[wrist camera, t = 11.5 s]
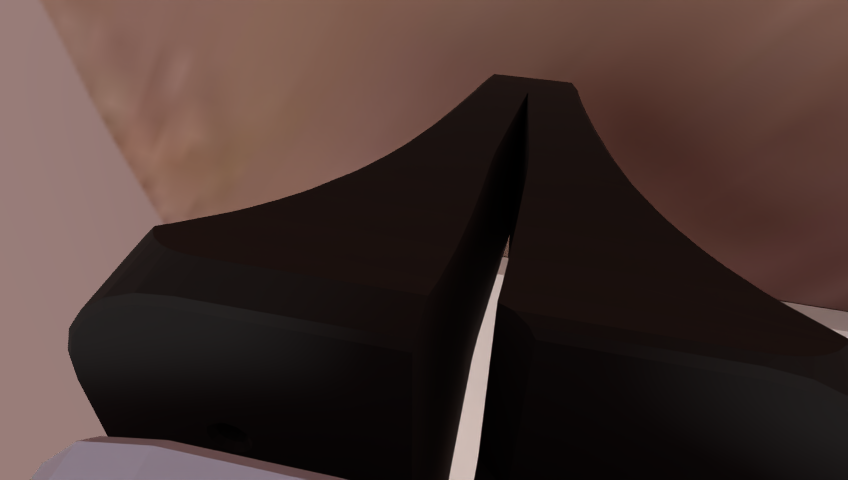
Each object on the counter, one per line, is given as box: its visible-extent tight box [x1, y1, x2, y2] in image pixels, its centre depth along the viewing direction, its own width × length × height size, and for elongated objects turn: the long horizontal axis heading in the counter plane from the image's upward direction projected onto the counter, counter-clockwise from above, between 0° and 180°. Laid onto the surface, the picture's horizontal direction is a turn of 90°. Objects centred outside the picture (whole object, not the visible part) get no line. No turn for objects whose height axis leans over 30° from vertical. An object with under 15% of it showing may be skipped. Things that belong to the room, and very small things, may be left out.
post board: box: [449, 257, 848, 480], centre depth 28 cm, size 18×18×6 cm
